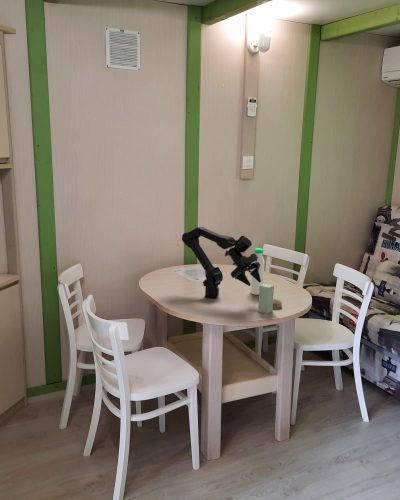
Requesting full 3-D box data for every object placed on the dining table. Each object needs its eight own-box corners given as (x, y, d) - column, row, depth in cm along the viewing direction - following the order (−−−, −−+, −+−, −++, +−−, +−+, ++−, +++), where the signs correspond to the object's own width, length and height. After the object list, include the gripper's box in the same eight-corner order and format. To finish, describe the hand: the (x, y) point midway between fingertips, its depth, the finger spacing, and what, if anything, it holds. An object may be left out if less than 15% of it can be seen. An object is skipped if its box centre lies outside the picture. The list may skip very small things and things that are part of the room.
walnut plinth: (264, 308, 235) (264, 303, 234) (266, 303, 242) (266, 298, 242) (280, 309, 233) (281, 305, 232) (282, 304, 240) (282, 300, 240)
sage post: (258, 311, 230) (259, 285, 227) (263, 308, 234) (265, 283, 231) (266, 313, 227) (268, 287, 224) (272, 311, 231) (273, 285, 228)
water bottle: (261, 291, 262) (264, 247, 257) (264, 295, 256) (266, 250, 250) (249, 291, 262) (251, 247, 257) (251, 295, 255) (253, 249, 250)
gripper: (236, 251, 225) (254, 278, 220) (258, 246, 239) (276, 271, 234) (222, 264, 231) (240, 291, 227) (244, 258, 245) (261, 283, 241)
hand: (255, 283), depth 232 cm, fingers open, 9 cm apart
